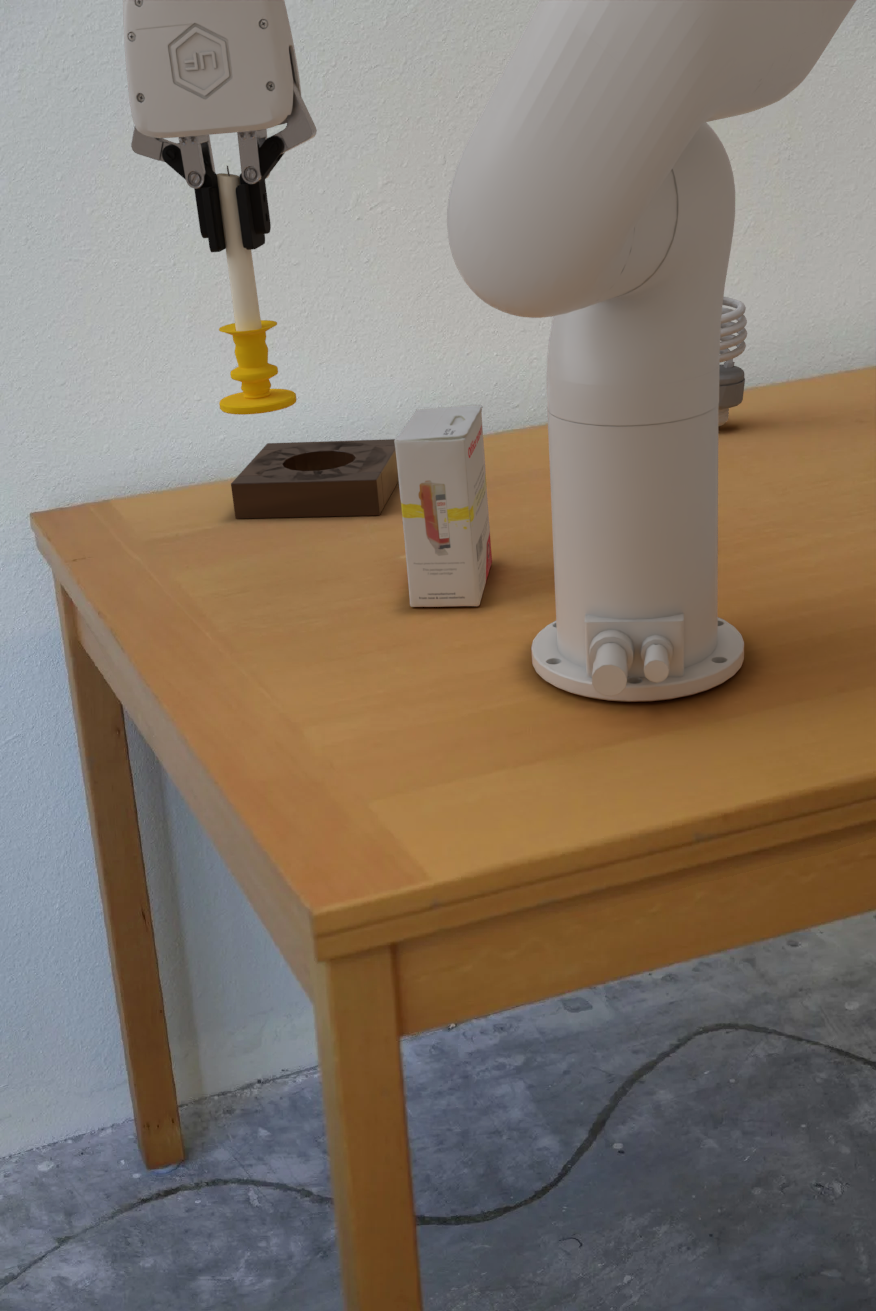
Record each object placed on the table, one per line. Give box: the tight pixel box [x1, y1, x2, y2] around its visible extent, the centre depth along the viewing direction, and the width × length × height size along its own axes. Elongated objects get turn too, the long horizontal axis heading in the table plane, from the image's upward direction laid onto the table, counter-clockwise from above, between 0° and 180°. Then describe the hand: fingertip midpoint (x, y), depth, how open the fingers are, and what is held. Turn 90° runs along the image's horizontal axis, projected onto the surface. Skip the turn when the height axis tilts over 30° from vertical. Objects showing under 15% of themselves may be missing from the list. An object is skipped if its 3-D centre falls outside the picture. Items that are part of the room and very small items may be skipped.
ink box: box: [394, 403, 493, 608], centre depth 100 cm, size 9×5×12 cm, turn 171°
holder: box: [230, 438, 399, 520], centre depth 124 cm, size 12×12×3 cm
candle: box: [216, 165, 297, 416], centre depth 97 cm, size 5×5×16 cm
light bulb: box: [718, 296, 748, 429], centre depth 132 cm, size 6×6×12 cm
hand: (238, 245), depth 96 cm, fingers closed on candle, 1 cm apart
